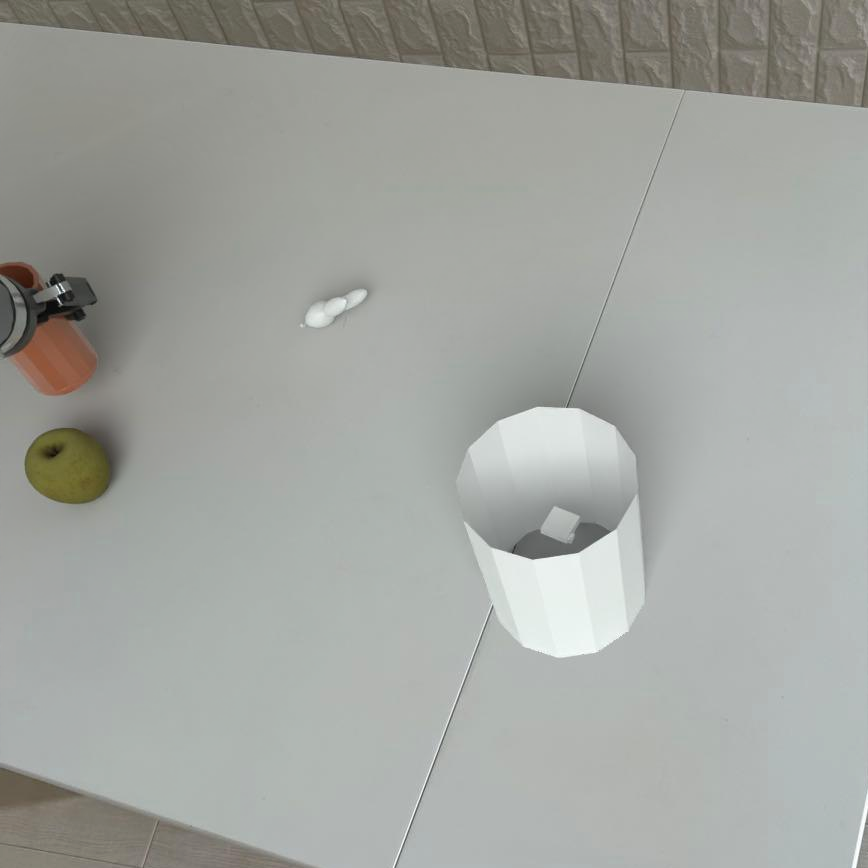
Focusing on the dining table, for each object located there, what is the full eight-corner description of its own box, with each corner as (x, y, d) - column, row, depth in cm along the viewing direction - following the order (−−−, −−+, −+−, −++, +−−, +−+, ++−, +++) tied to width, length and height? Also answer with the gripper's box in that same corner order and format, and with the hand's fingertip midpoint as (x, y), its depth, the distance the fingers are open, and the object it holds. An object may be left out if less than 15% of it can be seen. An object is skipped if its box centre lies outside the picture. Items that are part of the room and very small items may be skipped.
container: (600, 682, 92) (582, 586, 77) (463, 619, 97) (420, 517, 82) (671, 553, 98) (667, 440, 83) (538, 499, 103) (512, 383, 88)
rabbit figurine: (310, 305, 120) (362, 275, 117) (328, 336, 121) (380, 307, 118) (284, 319, 115) (338, 288, 112) (303, 351, 116) (357, 321, 113)
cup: (21, 396, 111) (-47, 319, 101) (43, 343, 115) (-20, 262, 104) (86, 395, 110) (23, 317, 100) (106, 341, 113) (48, 260, 103)
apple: (75, 451, 114) (40, 411, 107) (136, 466, 111) (104, 426, 105) (37, 508, 110) (-1, 470, 104) (99, 525, 108) (64, 487, 102)
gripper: (-110, 407, 88) (-34, 400, 110) (115, 302, 91) (146, 316, 113) (-163, 325, 86) (-75, 334, 108) (70, 221, 89) (110, 250, 111)
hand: (38, 325), depth 111 cm, fingers closed on cup, 7 cm apart
